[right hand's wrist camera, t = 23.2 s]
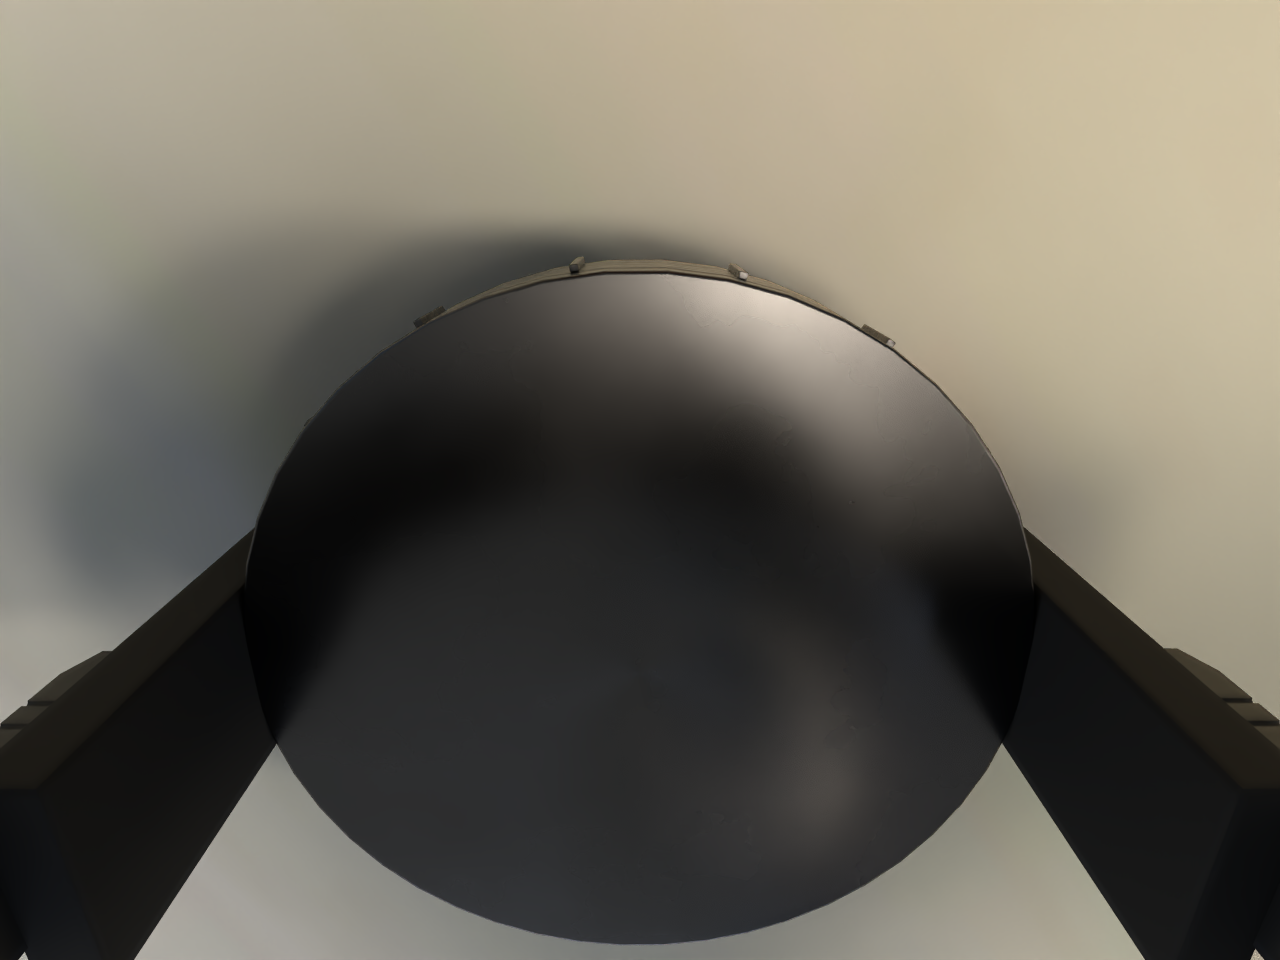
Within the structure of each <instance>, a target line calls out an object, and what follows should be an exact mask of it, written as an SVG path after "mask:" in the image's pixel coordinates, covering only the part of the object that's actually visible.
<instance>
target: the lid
mask: <svg viewBox="0 0 1280 960" xmlns="http://www.w3.org/2000/svg"><path fill="white" fill-rule="evenodd" d="M413 323H414V324H415V326H416V327H417V329H415V330H414V331H412V332H411V333H409V334H407V335H406V336H404V337H403V338H401V339H400V340H398V341H396V342H395V343H393V344H392V345H390V346H388V347H387V348H385V349H384V350H382V351H381V352H379V353H378V354H377V355H376V356H374V357H373V358H372V359H371V360H370V361H369V362H368V363H366V364H365V365H364V366H363V367H362V368H361V369H359V370H358V371H357V372H356V373H355V374H354V375H352V376H351V377H350V378H349V379H348V380H347V381H345V382H344V383H343V384H342V385H341V386H340V387H339V388H337V390H336V391H335V392H334V393H333V394H332V395H331V397H330V398H329V399H328V400H327V401H326V402H325V404H324V405H323V406H322V407H321V408H320V409H319V411H318V412H317V413H316V414H315V415H314V416H313V417H312V418H311V419H309V420H308V421H307V422H306V424H305V425H304V426H305V427H304V428H303V429H302V431H301V433H300V434H299V436H298V438H297V439H296V441H295V442H294V444H293V446H292V447H291V449H290V451H289V452H288V454H287V455H286V457H285V459H284V460H283V462H282V464H281V465H280V467H279V468H278V470H277V472H276V474H275V476H274V479H273V481H272V483H271V486H270V488H269V491H268V493H267V495H266V498H265V500H264V503H263V505H262V508H261V510H260V512H259V515H258V517H257V521H256V525H255V530H254V534H253V538H252V542H251V547H250V551H249V555H248V559H247V564H246V577H245V590H244V604H243V615H244V627H245V637H246V642H247V647H248V652H249V657H250V661H251V665H252V670H253V674H254V678H255V683H256V687H257V691H258V696H259V700H260V703H261V707H262V711H263V713H264V716H265V718H266V721H267V723H268V726H269V728H270V731H271V733H272V736H273V738H274V739H275V741H276V743H277V745H278V746H279V748H280V750H281V752H282V753H283V755H284V757H285V759H286V760H287V762H288V764H289V766H290V768H291V769H292V771H293V773H294V774H295V776H296V777H297V778H298V780H299V781H300V782H301V784H302V785H303V786H304V788H305V789H306V790H307V792H308V793H309V794H310V795H311V797H312V798H313V799H314V801H315V802H316V803H317V805H318V806H319V807H320V808H321V809H322V810H323V812H324V813H325V814H326V815H327V816H328V817H329V818H330V819H331V820H332V821H333V822H334V823H335V824H336V825H337V826H338V827H339V828H340V829H341V830H342V831H343V832H344V833H345V834H346V835H347V836H348V837H349V838H350V839H351V840H352V841H354V842H355V843H356V844H357V845H358V846H360V847H361V848H362V849H363V850H365V851H366V852H367V853H368V854H369V855H371V856H372V857H373V858H374V859H376V860H377V861H378V862H379V863H380V864H382V865H383V866H385V867H386V868H388V869H389V870H391V871H392V872H394V873H396V874H397V875H399V876H400V877H402V878H403V879H405V880H406V881H408V882H409V883H411V884H412V885H414V886H416V887H417V888H419V889H421V890H423V891H425V892H427V893H429V894H431V895H433V896H435V897H437V898H439V899H441V900H443V901H445V902H447V903H448V904H450V905H452V906H454V907H457V908H459V909H462V910H464V911H467V912H470V913H472V914H475V915H477V916H480V917H482V918H485V919H488V920H490V921H493V922H495V923H499V924H503V925H506V926H510V927H513V928H517V929H520V930H524V931H528V932H531V933H535V934H539V935H545V936H551V937H556V938H562V939H567V940H573V941H578V942H590V943H601V944H613V945H667V944H678V943H688V942H698V941H707V940H712V939H717V938H722V937H728V936H733V935H738V934H743V933H748V932H751V931H755V930H758V929H762V928H765V927H769V926H772V925H775V924H779V923H782V922H786V921H789V920H791V919H794V918H796V917H799V916H801V915H804V914H806V913H809V912H811V911H814V910H816V909H819V908H821V907H824V906H826V905H828V904H830V903H832V902H834V901H836V900H838V899H840V898H842V897H844V896H846V895H848V894H849V893H851V892H853V891H855V890H857V889H859V888H861V887H863V886H865V885H866V884H868V883H869V882H871V881H872V880H874V879H875V878H877V877H878V876H880V875H881V874H883V873H884V872H886V871H887V870H889V869H890V868H892V867H893V866H895V865H896V864H898V863H899V862H901V861H902V860H903V859H904V858H906V857H907V856H908V855H909V854H910V853H912V852H913V851H914V850H915V849H916V848H917V847H919V846H920V845H921V844H922V843H923V842H925V841H926V840H927V839H928V838H929V837H931V836H932V835H933V834H934V833H935V832H936V831H937V830H938V829H939V828H940V827H941V825H942V824H943V823H944V822H945V821H946V820H947V819H948V818H949V817H950V816H951V815H952V814H953V813H954V812H955V811H956V810H957V809H958V807H959V806H960V805H961V804H962V803H963V802H964V800H965V799H966V798H967V796H968V795H969V794H970V792H971V791H972V789H973V788H974V787H975V785H976V784H977V783H978V781H979V780H980V779H981V777H982V776H983V774H984V773H985V772H986V770H987V769H988V767H989V765H990V763H991V762H992V760H993V758H994V756H995V754H996V752H997V751H998V749H999V747H1000V745H1001V743H1002V742H1003V740H1004V738H1005V736H1006V734H1007V732H1008V730H1009V727H1010V725H1011V722H1012V719H1013V717H1014V714H1015V712H1016V709H1017V706H1018V702H1019V699H1020V695H1021V691H1022V687H1023V682H1024V678H1025V673H1026V669H1027V665H1028V660H1029V656H1030V651H1031V646H1032V641H1033V633H1034V617H1035V596H1034V585H1033V574H1032V563H1031V556H1030V552H1029V548H1028V544H1027V541H1026V537H1025V533H1024V529H1023V525H1022V521H1021V517H1020V513H1019V511H1018V508H1017V506H1016V504H1015V501H1014V499H1013V497H1012V494H1011V492H1010V490H1009V488H1008V485H1007V483H1006V481H1005V478H1004V476H1003V474H1002V471H1001V469H1000V467H999V465H998V464H997V462H996V461H995V459H994V458H993V456H992V455H991V452H990V451H989V449H988V448H987V447H986V445H985V444H984V442H983V440H982V439H981V437H980V436H979V434H978V433H977V431H976V430H975V428H974V426H973V425H972V424H971V422H970V421H969V420H968V419H967V418H966V417H965V416H964V415H963V413H962V412H961V411H960V410H959V409H958V408H957V407H956V405H955V404H954V403H953V402H952V401H951V400H950V399H949V398H948V396H947V395H946V394H945V393H944V392H943V391H942V390H941V389H940V387H939V386H938V385H937V384H936V383H935V382H933V381H932V380H931V379H930V378H929V377H927V376H926V375H925V374H924V373H923V372H921V371H920V370H919V369H918V368H917V367H915V366H914V365H913V364H912V363H911V362H909V361H908V360H907V359H906V358H905V357H903V356H902V355H901V354H900V353H899V352H897V351H896V350H895V349H894V348H892V347H893V346H894V345H895V342H894V341H893V340H891V339H890V338H888V337H886V336H885V335H883V334H881V333H879V332H878V331H876V330H874V329H872V328H871V327H869V326H867V325H865V324H864V325H863V327H862V328H859V327H858V326H856V325H854V324H853V323H851V322H850V321H848V320H846V319H845V318H843V317H841V316H840V315H838V314H836V313H835V312H833V311H831V310H830V309H828V308H826V307H825V306H823V305H821V304H820V303H818V302H817V301H815V300H812V299H810V298H808V297H805V296H803V295H801V294H798V293H796V292H794V291H791V290H789V289H787V288H784V287H782V286H780V285H777V284H775V283H773V282H770V281H768V280H765V279H761V278H757V277H754V276H750V275H748V272H746V271H745V270H743V269H742V268H741V267H739V266H738V265H736V264H732V263H730V264H729V268H728V269H724V268H721V267H717V266H710V265H702V264H694V263H687V262H679V261H671V260H664V259H659V260H605V261H598V262H591V263H585V260H584V257H577V258H576V259H575V260H574V261H573V262H572V263H571V264H570V265H569V266H564V267H557V268H553V269H550V270H546V271H543V272H539V273H536V274H532V275H529V276H525V277H522V278H518V279H515V280H511V281H508V282H505V283H503V284H500V285H498V286H496V287H494V288H492V289H489V290H487V291H485V292H483V293H480V294H478V295H476V296H474V297H471V298H469V299H467V300H465V301H462V302H460V303H458V304H456V305H455V306H453V307H451V308H450V309H448V310H446V311H445V309H444V308H443V306H440V307H438V308H437V309H435V310H433V311H431V312H429V313H428V314H426V315H424V316H422V317H421V318H419V319H417V320H415V321H414V322H413Z"/></svg>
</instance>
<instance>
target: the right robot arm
mask: <svg viewBox="0 0 1280 960" xmlns="http://www.w3.org/2000/svg"><path fill="white" fill-rule="evenodd" d="M1023 529H1024V533H1025V537H1026V541H1027V544H1028V548H1029V552H1030V556H1031V563H1032V574H1033V585H1034V596H1035V617H1034V633H1033V641H1032V646H1031V651H1030V656H1029V660H1028V665H1027V669H1026V673H1025V678H1024V682H1023V687H1022V691H1021V695H1020V699H1019V702H1018V706H1017V709H1016V712H1015V714H1014V717H1013V719H1012V722H1011V725H1010V727H1009V730H1008V732H1007V734H1006V736H1005V738H1004V740H1003V742H1002V743H1003V745H1004V746H1005V748H1006V750H1007V751H1008V753H1009V754H1010V756H1011V757H1012V759H1013V760H1014V762H1015V763H1016V765H1017V766H1018V768H1019V769H1020V771H1021V772H1022V774H1023V775H1024V777H1025V778H1026V780H1027V781H1028V783H1029V784H1030V786H1031V787H1032V789H1033V790H1034V792H1035V793H1036V795H1037V797H1038V798H1039V800H1040V801H1041V803H1042V804H1043V806H1044V807H1045V809H1046V810H1047V812H1048V813H1049V815H1050V816H1051V818H1052V819H1053V821H1054V822H1055V824H1056V825H1057V827H1058V828H1059V830H1060V831H1061V833H1062V834H1063V836H1064V837H1065V839H1066V840H1067V842H1068V844H1069V845H1070V847H1071V848H1072V850H1073V851H1074V853H1075V854H1076V856H1077V857H1078V859H1079V860H1080V862H1081V863H1082V865H1083V866H1084V868H1085V869H1086V871H1087V872H1088V874H1089V875H1090V877H1091V878H1092V880H1093V881H1094V883H1095V884H1096V886H1097V887H1098V889H1099V891H1100V892H1101V894H1102V895H1103V897H1104V898H1105V900H1106V901H1107V903H1108V904H1109V906H1110V907H1111V909H1112V910H1113V912H1114V913H1115V915H1116V916H1117V918H1118V919H1119V921H1120V922H1121V924H1122V925H1123V927H1124V928H1125V930H1126V931H1127V933H1128V934H1129V936H1130V938H1131V939H1132V941H1133V942H1134V944H1135V945H1136V947H1137V948H1138V950H1139V951H1140V953H1141V954H1142V956H1143V957H1144V959H1145V960H1250V959H1251V957H1252V955H1253V952H1254V950H1255V949H1256V950H1257V951H1258V952H1259V954H1260V955H1261V956H1262V957H1263V959H1264V960H1280V724H1279V720H1278V719H1277V718H1276V717H1275V716H1273V715H1272V714H1271V713H1270V712H1268V711H1267V710H1266V709H1265V708H1264V707H1262V706H1261V705H1260V704H1259V703H1253V702H1252V698H1251V697H1250V696H1249V695H1248V694H1247V693H1245V692H1244V691H1243V690H1242V689H1240V688H1239V687H1238V686H1237V685H1236V684H1234V683H1233V682H1232V681H1231V680H1230V679H1228V678H1227V677H1226V676H1225V675H1223V674H1222V673H1221V672H1220V671H1218V670H1216V669H1214V668H1213V667H1211V666H1209V665H1207V664H1205V663H1203V662H1201V661H1199V660H1198V659H1196V658H1194V657H1192V656H1190V655H1188V654H1186V653H1184V652H1183V651H1181V650H1179V649H1164V648H1163V647H1161V646H1160V645H1159V644H1158V643H1157V642H1156V641H1154V640H1153V639H1152V638H1151V637H1150V636H1149V635H1148V634H1146V633H1145V632H1144V631H1143V630H1142V629H1141V628H1140V627H1138V626H1137V625H1136V624H1135V623H1134V622H1133V621H1131V620H1130V619H1129V618H1128V617H1127V616H1126V615H1125V614H1123V613H1122V612H1121V611H1120V610H1119V609H1118V608H1116V607H1115V606H1114V605H1113V604H1112V603H1111V602H1110V601H1108V600H1107V599H1106V598H1105V597H1104V596H1103V595H1101V594H1100V593H1099V592H1098V591H1097V590H1096V589H1095V588H1093V587H1092V586H1091V585H1090V584H1089V583H1088V582H1086V581H1085V580H1084V579H1083V578H1082V577H1081V576H1080V575H1078V574H1077V573H1076V572H1075V571H1074V570H1073V569H1072V568H1070V567H1069V566H1068V565H1067V564H1066V563H1065V562H1063V561H1062V560H1061V559H1060V558H1059V557H1058V556H1057V555H1055V554H1054V553H1053V552H1052V551H1051V550H1050V549H1048V548H1047V547H1046V546H1045V545H1044V544H1043V543H1042V542H1040V541H1039V540H1038V539H1037V538H1036V537H1035V536H1033V535H1032V534H1031V533H1030V532H1029V531H1028V530H1027V529H1025V528H1024V527H1023ZM254 530H255V528H254V529H253V530H251V531H250V532H249V533H248V534H247V535H246V536H244V537H243V538H242V539H241V540H240V541H239V542H238V543H236V544H235V545H234V546H233V547H232V548H231V549H229V550H228V551H227V552H226V553H225V554H224V555H223V556H221V557H220V558H219V559H218V560H217V561H216V562H215V563H213V564H212V565H211V566H210V567H209V568H208V569H206V570H205V571H204V572H203V573H202V574H201V575H200V576H198V577H197V578H196V579H195V580H194V581H193V582H191V583H190V584H189V585H188V586H187V587H186V588H185V589H183V590H182V591H181V592H180V593H179V594H178V595H176V596H175V597H174V598H173V599H172V600H171V601H170V602H168V603H167V604H166V605H165V606H164V607H163V608H161V609H160V610H159V611H158V612H157V613H156V614H155V615H153V616H152V617H151V618H150V619H149V620H148V621H146V622H145V623H144V624H143V625H142V626H141V627H140V628H138V629H137V630H136V631H135V632H134V633H133V634H131V635H130V636H129V637H128V638H127V639H126V640H125V641H123V642H122V643H121V644H120V645H119V646H118V647H116V648H115V649H114V650H113V651H102V652H100V653H98V654H97V655H95V656H93V657H91V658H89V659H87V660H85V661H84V662H82V663H80V664H78V665H76V666H74V667H72V668H71V669H69V670H67V671H65V672H63V673H61V674H60V675H58V676H57V677H56V678H55V679H54V680H52V681H51V682H50V683H49V684H48V685H46V686H45V687H44V688H43V689H42V690H40V691H39V692H38V693H37V694H36V695H34V696H33V697H32V698H31V699H30V700H28V705H27V706H21V707H20V708H19V709H17V710H16V711H15V712H14V713H13V714H11V715H10V716H9V717H8V718H7V719H5V720H4V721H3V722H2V723H1V726H0V960H18V959H19V958H20V957H21V956H22V954H23V953H24V952H25V953H26V955H27V958H28V960H134V959H135V957H136V956H137V954H138V953H139V951H140V950H141V948H142V947H143V945H144V944H145V942H146V941H147V939H148V938H149V936H150V935H151V933H152V932H153V930H154V929H155V927H156V926H157V924H158V923H159V921H160V920H161V918H162V917H163V915H164V913H165V912H166V910H167V909H168V907H169V906H170V904H171V903H172V901H173V900H174V898H175V897H176V895H177V894H178V892H179V891H180V889H181V888H182V886H183V885H184V883H185V882H186V880H187V879H188V877H189V876H190V874H191V873H192V871H193V870H194V868H195V866H196V865H197V863H198V862H199V860H200V859H201V857H202V856H203V854H204V853H205V851H206V850H207V848H208V847H209V845H210V844H211V842H212V841H213V839H214V838H215V836H216V835H217V833H218V832H219V830H220V829H221V827H222V826H223V824H224V823H225V821H226V819H227V818H228V816H229V815H230V813H231V812H232V810H233V809H234V807H235V806H236V804H237V803H238V801H239V800H240V798H241V797H242V795H243V794H244V792H245V791H246V789H247V788H248V786H249V785H250V783H251V782H252V780H253V779H254V777H255V776H256V774H257V773H258V771H259V769H260V768H261V766H262V765H263V763H264V762H265V760H266V759H267V757H268V756H269V754H270V753H271V751H272V750H273V748H274V747H275V745H276V744H277V743H276V741H275V739H274V738H273V736H272V733H271V731H270V728H269V726H268V723H267V721H266V718H265V716H264V713H263V711H262V707H261V703H260V700H259V696H258V691H257V687H256V683H255V678H254V674H253V670H252V665H251V661H250V657H249V652H248V647H247V642H246V637H245V627H244V615H243V604H244V590H245V577H246V564H247V559H248V555H249V551H250V547H251V542H252V538H253V534H254Z"/></svg>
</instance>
